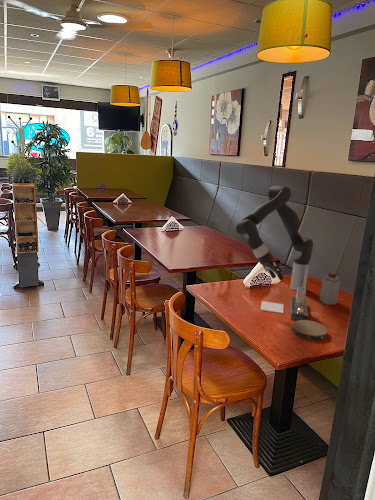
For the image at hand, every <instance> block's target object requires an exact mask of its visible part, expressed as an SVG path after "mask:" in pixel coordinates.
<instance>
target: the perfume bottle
mask: <svg viewBox="0 0 375 500" xmlns="http://www.w3.org/2000/svg"><path fill="white" fill-rule="evenodd" d="M337 275H338V273H336V272H334V271H329V272H328V273H327V274H326V275H324V277H325V278H324V277H323V278H322V281H321V289H320V293H319V302H322V303H323V304H324V305H326V306H328V305H330V306H331V305H337V302H338V297H339V293H340V286H341V282H340V281H339V279H340V278H339V277H338V276H337Z"/></svg>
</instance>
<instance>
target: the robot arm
mask: <svg viewBox="0 0 375 500" xmlns="http://www.w3.org/2000/svg"><path fill="white" fill-rule="evenodd" d="M267 194H268V195H267V196H268V199H269V201H267V202H265V203H262V204H260V205H258V206H257V207H256V208H254V209H253V210H252V211H251V212H250V214H248V215H246V216H244V218H242V219H240V220H239V221H238V222H237V223H236V227H235V230H236V232H237V234H239V235H240V236H241V235H243V236H245V235H247V236H248V238H247V240H246V243H247V245H248V247H250V249H251V251H252V253H253V255H254V256H255V257H256V259H257V260H258V263H259V264H260V265H262V267H263V268H264V270H265V272H266V273H269V275H270V277H271V278H272V279H275V278H278V279H279V281H282V280H284V275H283V274H282V269H281V268H280V265H279V264H278V263H277V262H276V261H273V258H274V256H273V254H272V252H271V251H270V250H269V247H268V246H267V245H266V244H265V242H264V241H263V239H262V238H261V237H260V234H259V230H258V228H257V225H260V223H262V221H263V220H264V219H266V218H267V217H268V215H270V214H271V213H273V212H275V211H276V212H277V214H278V216H279V218H280V219H281V222H282V224H283V227H284V228H285V229H286V231H287V235H288V236H289V238H290V241H291V246H292V247H293V249H294V250H295V251H297V252H301V255H300V256H299V255H298V256H295V257H294V258H293V265H292V272H291V278H290V279H291V280H290V285H289V288H290V289H291V290H293V291H296V292H297V289H298V286H300V287H306V284H307V278H308V271H309V266H310V260H311V259H312V254H313V250H314V249H313V248H314V241H313V239H311V238H307V237H304V236H302V235H301V233H300V232H299V230H300V228H301V221H300V218H299V216H298V214H297V213H296V211H295V210H294V209H293V208H291V207H290V206H289V205H288V204H286V203H288V202H289V200H291V197H292V191H291V188H290V187H288V186H283V185H272V186H271V187H269V188H268V191H267Z"/></svg>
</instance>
